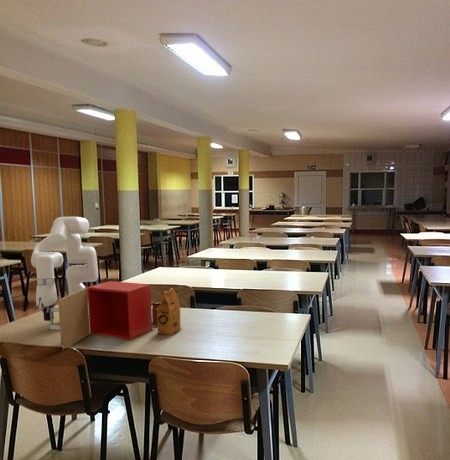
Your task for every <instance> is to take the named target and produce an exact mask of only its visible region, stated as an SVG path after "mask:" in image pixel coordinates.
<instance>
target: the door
mask: <svg viewBox="0 0 450 460" xmlns="http://www.w3.org/2000/svg"><path fill="white" fill-rule="evenodd" d="M57 304H58V307H54V308H49V312H50V318H51V320H50V321H48V322H49V330H57V331H58V330H59V333H60V344H61V345H60V346H64V347H69V348H71V347H72V346H73V345H75V344H77V343H78V342H80V341H81V340H83V339H85V338H87V336H89V335H91V334H90V325H89V309H88V292H87V287H85V288H84V289H82V290H80V291H77V292H75V293H73V294H71V295H69V294H68V295H66V296H64V297H62V298H60V299H57ZM52 312H53V313H52ZM54 313H58V319H59V324H54V319H53V314H54Z"/></svg>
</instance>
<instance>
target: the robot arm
mask: <svg viewBox="0 0 450 460" xmlns="http://www.w3.org/2000/svg"><path fill="white" fill-rule="evenodd" d="M89 230H90V222H89V220H88V219H87V218H85V217H82V216H58V217H57V218H55V219H54V221H53V222H52V225H51V229H50V232H49V235H48V236H47V237H45V238H43V239H42V240H40V241H39V242H38V243H37V244H36V245H35V246H34V248H33V251H32V254H31V258H30V264H31V266H32V267H33V268H35V269H36V283H37V285H36V291H35V303H36V307H37V308H38V310H39V311H41V312H42V314H43V321H44V322H49V321H50V320H51V318H50V312H49V308H55V307H56V305H57V304H58V292H57V287H56V281H55V280H56V279H55V269H57V268H61V266H62V265H63V263H64V255H63V254H62V253H61V252H58V251H53V250H57V249H59V248H61V247H63V246H64V245H65V251H66V252H65V253H66V259H67V262H68V263H69V264H73V265H70V266H68V267H67V268H66V269H65V277H66V281H67V288H68V295H71V294H73V293H75V292H77V291H80V290H82V289H84V288H86V285H84V283H93V282H97V280H98V278H99V267H98V266H99V265H98V257H97V255H98V254H97V251H96V249H95V248H94V247H93V246H83V245H82V238H81V235H86V234H87V233H89ZM74 264H75V265H74ZM52 313H53V320H54V318H55V317H54V314H55V313H54V312H52Z"/></svg>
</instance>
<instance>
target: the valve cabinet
mask: <svg viewBox="0 0 450 460" xmlns="http://www.w3.org/2000/svg"><path fill="white" fill-rule="evenodd" d="M86 288H87V296H88V313H89V329H90V334H89V335H98V336H102V337H103V336H104V337H110V338H117V339H124V340H130V341H131V340H134V339H136V338H138V337H141V336H143V335H144V334H147V333H149V332H151V331H153V327H152V322H153V320H152V291H151V290H152V289H151V284H150V283H141V282H140V283H139V282H126V281H114V280H109V281H105V282H101V283H98V284H95V285H91V286H87V287H86Z"/></svg>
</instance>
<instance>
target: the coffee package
mask: <svg viewBox="0 0 450 460" xmlns="http://www.w3.org/2000/svg"><path fill="white" fill-rule="evenodd" d="M160 294H161V295H162V299H161V301H160V302H161V303H160V305H159V307H158V311H157V319H158V326H157V332H158V334H162V335H166V336H168V335H169V336H171V335H173V334H175V333H178V332H179V331H180V330H181V329H182V327H181V306H180V299H179V297H178V295H177V293H176V291H175V289H174V288H173V287H170V289H169V290H165V291H162V292H161V293H160Z"/></svg>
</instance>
